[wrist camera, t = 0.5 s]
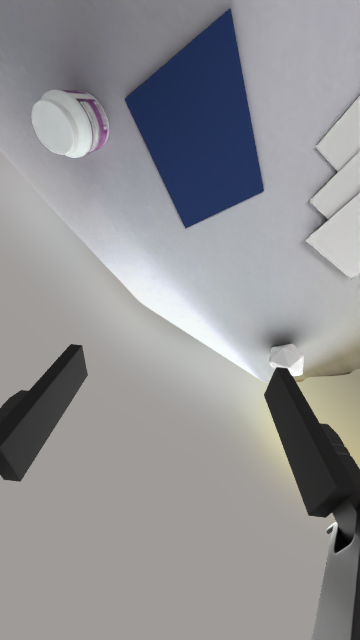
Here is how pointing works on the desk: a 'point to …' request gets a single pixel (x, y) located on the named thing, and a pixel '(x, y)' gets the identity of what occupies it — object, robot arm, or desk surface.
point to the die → (287, 358)
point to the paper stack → (341, 195)
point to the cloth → (200, 125)
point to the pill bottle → (70, 122)
